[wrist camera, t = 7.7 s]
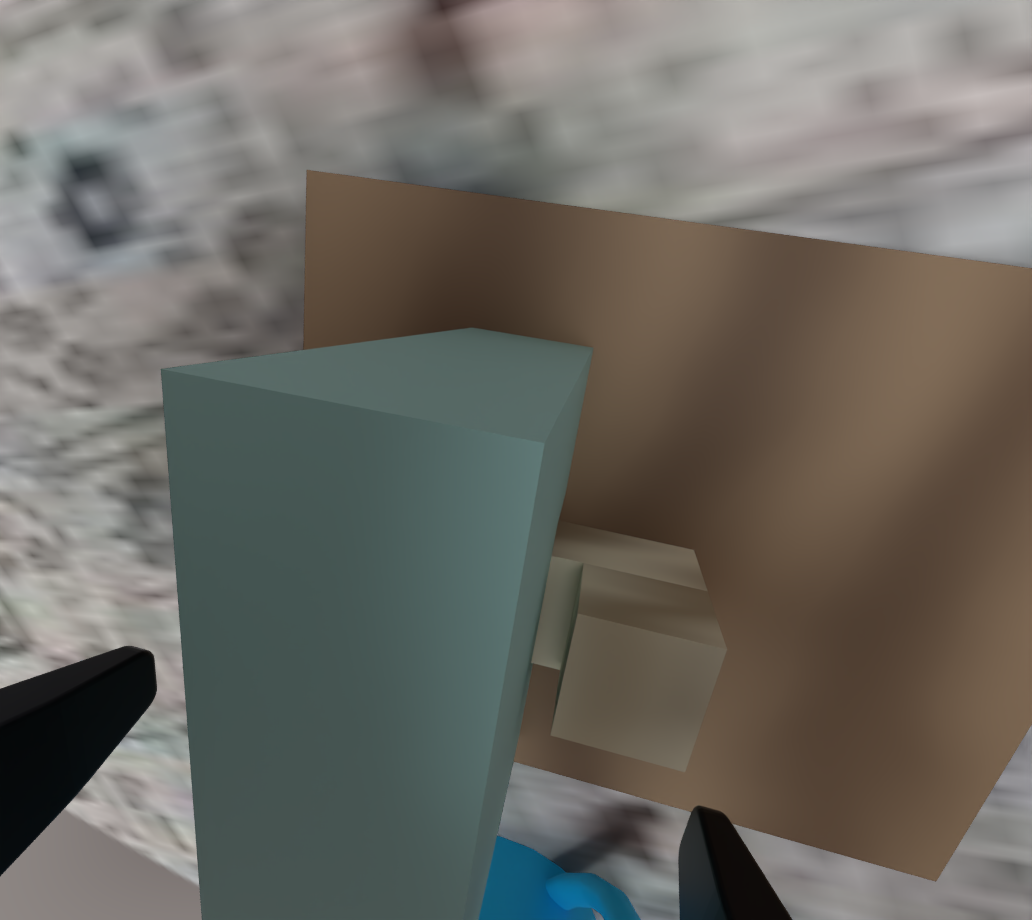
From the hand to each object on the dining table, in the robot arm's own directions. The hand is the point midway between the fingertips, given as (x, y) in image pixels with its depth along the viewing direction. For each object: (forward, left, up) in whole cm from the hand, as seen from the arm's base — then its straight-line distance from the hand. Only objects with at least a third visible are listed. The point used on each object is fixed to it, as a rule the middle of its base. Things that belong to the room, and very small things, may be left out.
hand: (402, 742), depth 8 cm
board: (-4, -1, -7) cm, 8 cm away
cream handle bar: (0, 0, -6) cm, 6 cm away
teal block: (0, 0, -6) cm, 6 cm away
